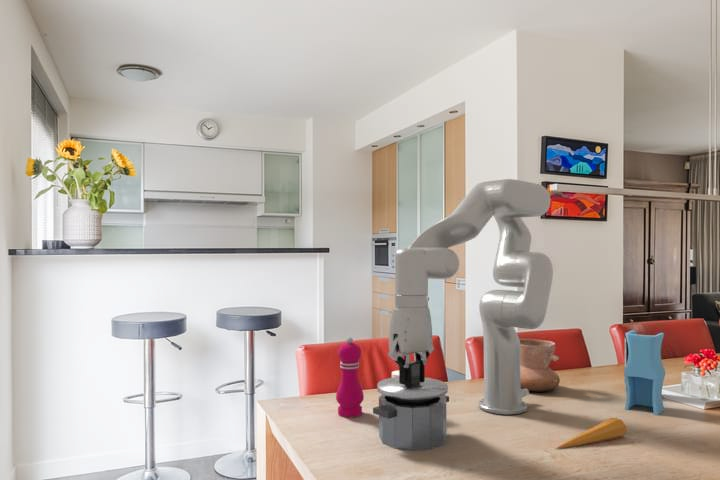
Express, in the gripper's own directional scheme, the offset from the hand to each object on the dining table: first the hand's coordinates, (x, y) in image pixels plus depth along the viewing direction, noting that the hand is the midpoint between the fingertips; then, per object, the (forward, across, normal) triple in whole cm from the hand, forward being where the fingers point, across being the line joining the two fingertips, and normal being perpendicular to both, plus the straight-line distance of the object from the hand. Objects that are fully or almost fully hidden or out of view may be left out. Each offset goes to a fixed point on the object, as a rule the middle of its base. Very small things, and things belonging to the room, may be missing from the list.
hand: (412, 382), depth 121 cm
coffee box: (+12, -75, +19) cm, 78 cm away
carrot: (+13, -28, +27) cm, 41 cm away
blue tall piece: (+13, -62, +25) cm, 68 cm away
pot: (+13, 0, 0) cm, 13 cm away
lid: (+3, 0, 0) cm, 3 cm away
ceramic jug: (+13, -58, -6) cm, 60 cm away
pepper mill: (+13, 0, -23) cm, 26 cm away
